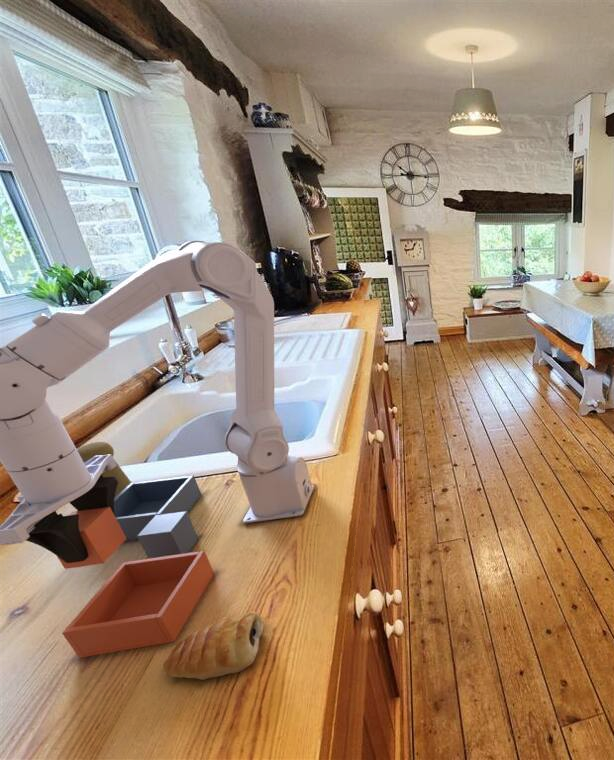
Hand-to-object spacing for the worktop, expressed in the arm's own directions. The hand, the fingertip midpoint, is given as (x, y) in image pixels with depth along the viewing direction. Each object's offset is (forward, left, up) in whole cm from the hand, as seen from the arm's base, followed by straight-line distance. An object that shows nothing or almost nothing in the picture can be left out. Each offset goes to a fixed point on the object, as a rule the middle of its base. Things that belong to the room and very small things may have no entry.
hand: (92, 544), depth 53 cm
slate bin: (+4, -15, -8) cm, 18 cm away
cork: (+15, -23, -8) cm, 29 cm away
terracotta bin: (-7, +5, -8) cm, 12 cm away
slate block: (-4, -6, -8) cm, 11 cm away
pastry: (-19, +13, -8) cm, 24 cm away
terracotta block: (0, 0, -1) cm, 1 cm away
